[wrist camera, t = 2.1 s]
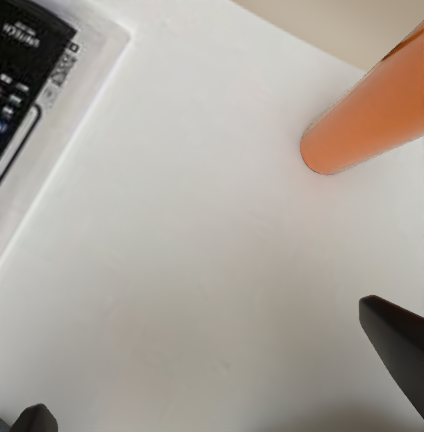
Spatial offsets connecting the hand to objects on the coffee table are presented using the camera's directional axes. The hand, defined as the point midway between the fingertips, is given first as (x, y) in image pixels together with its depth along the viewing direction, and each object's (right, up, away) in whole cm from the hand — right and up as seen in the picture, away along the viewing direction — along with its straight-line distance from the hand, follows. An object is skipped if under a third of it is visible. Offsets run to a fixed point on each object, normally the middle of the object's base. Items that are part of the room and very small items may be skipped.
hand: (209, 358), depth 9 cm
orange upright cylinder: (+8, +9, +14) cm, 19 cm away
